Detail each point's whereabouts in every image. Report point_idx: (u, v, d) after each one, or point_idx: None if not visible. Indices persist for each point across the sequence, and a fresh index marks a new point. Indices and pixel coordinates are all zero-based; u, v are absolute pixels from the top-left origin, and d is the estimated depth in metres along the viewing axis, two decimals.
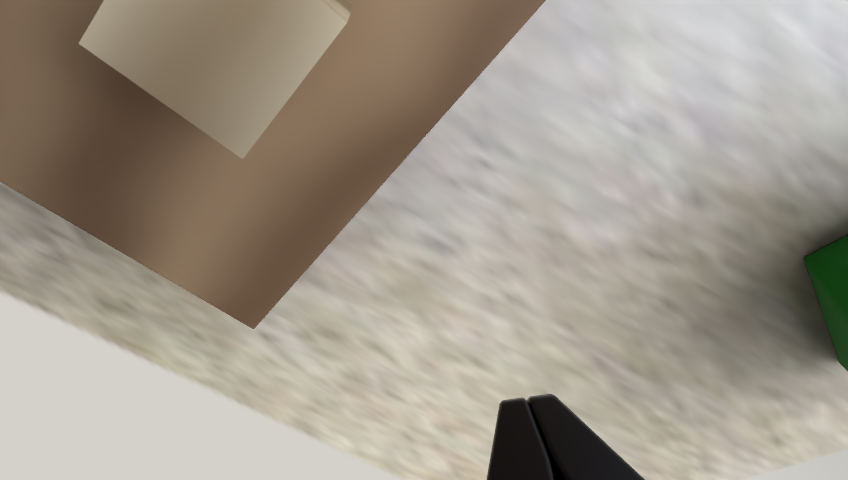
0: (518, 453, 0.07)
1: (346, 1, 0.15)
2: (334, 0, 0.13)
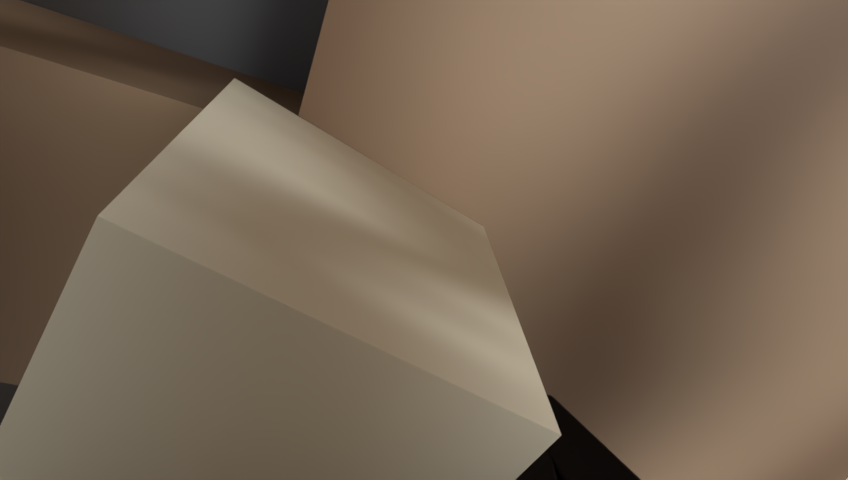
0: None
1: (480, 243, 0.08)
2: (488, 307, 0.06)
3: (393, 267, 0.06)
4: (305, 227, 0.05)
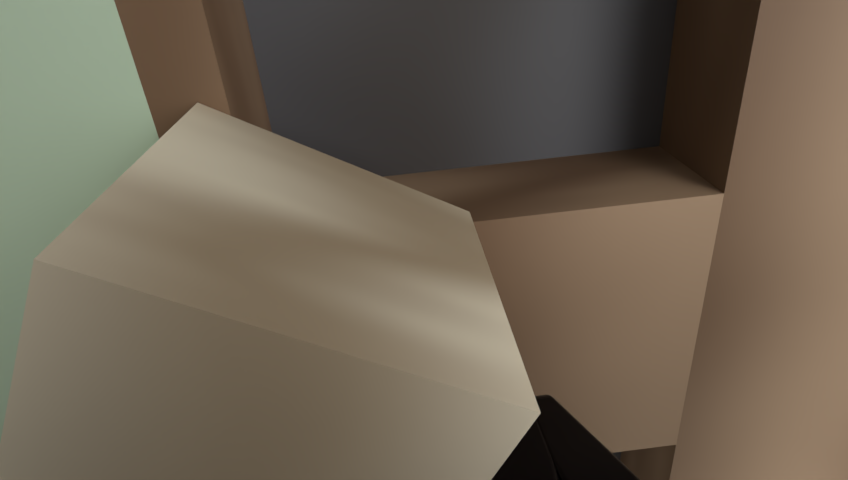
0: (522, 452, 0.07)
1: (463, 228, 0.08)
2: (466, 293, 0.06)
3: (360, 267, 0.06)
4: (263, 241, 0.05)
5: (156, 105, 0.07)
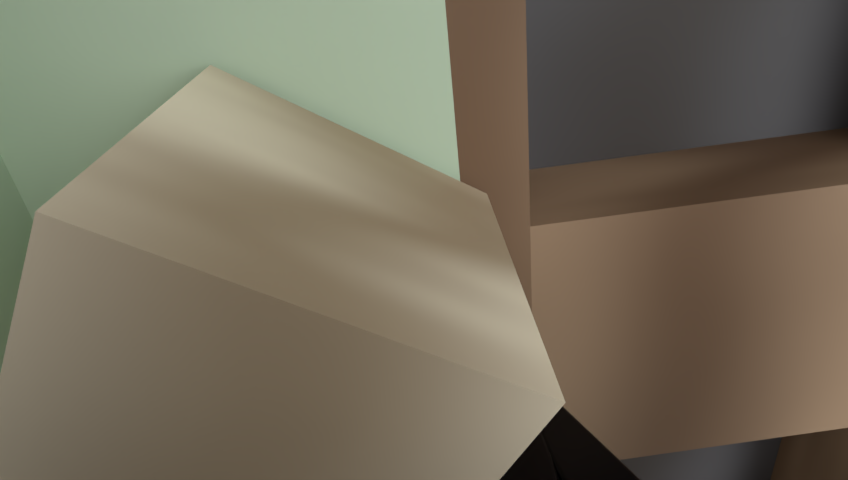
0: None
1: (481, 210, 0.07)
2: (486, 275, 0.06)
3: (378, 242, 0.05)
4: (277, 207, 0.05)
5: (460, 88, 0.07)
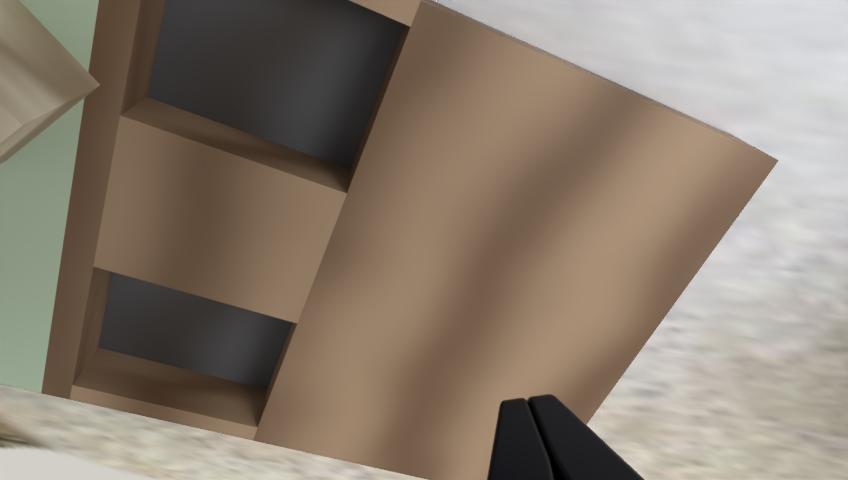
0: (518, 453, 0.07)
1: (82, 84, 0.15)
2: (41, 91, 0.14)
3: None
4: None
5: (98, 29, 0.15)
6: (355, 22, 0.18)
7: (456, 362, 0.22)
